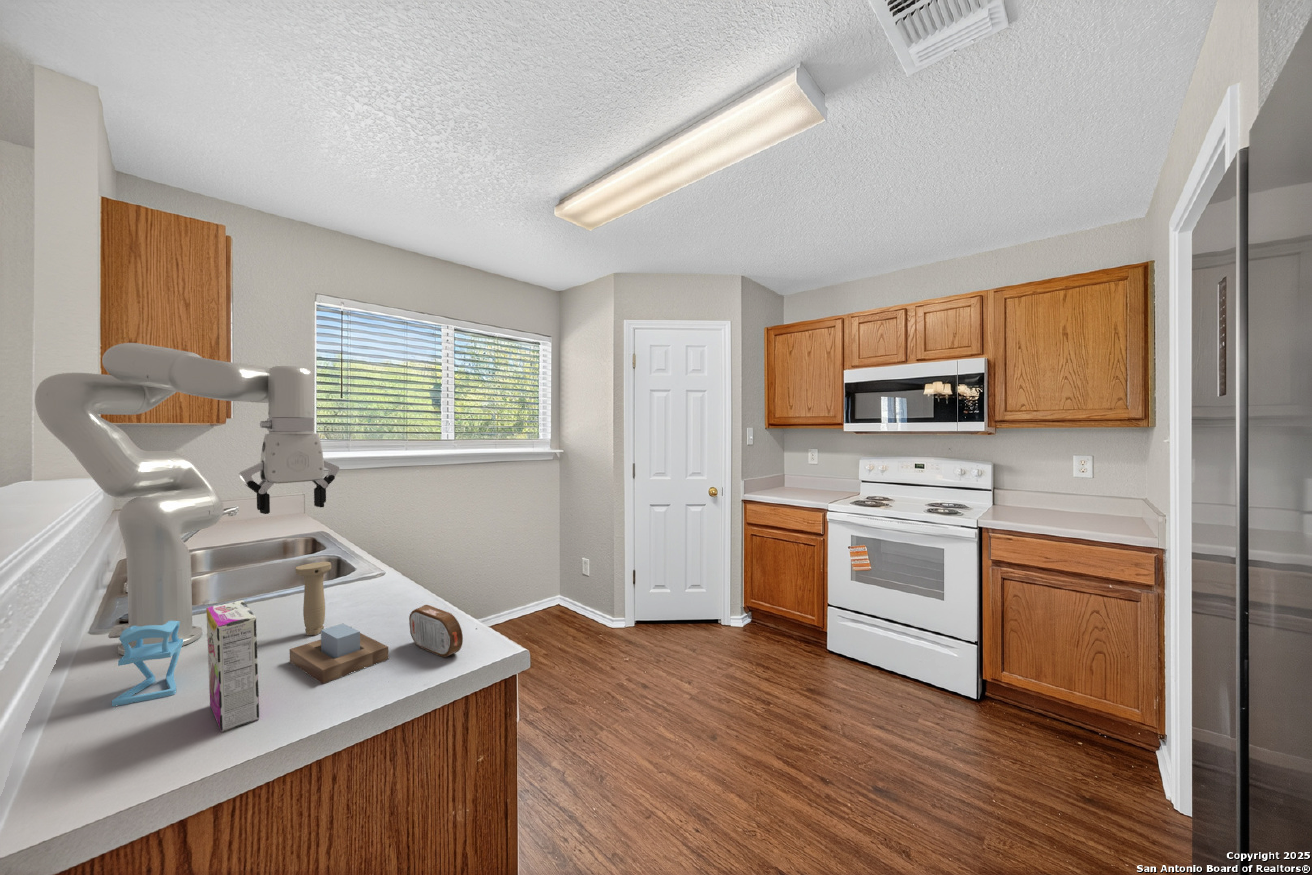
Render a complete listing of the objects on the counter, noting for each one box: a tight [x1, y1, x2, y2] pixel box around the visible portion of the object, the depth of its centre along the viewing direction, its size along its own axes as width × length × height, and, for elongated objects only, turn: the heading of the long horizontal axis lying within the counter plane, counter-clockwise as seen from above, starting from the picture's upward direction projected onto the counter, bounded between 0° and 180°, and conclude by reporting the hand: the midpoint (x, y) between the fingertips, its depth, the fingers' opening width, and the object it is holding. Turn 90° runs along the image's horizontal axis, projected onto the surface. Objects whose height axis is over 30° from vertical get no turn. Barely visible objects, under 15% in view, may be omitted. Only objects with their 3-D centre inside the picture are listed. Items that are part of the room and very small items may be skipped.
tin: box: [408, 604, 464, 658], centre depth 102 cm, size 15×3×8 cm, turn 57°
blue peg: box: [320, 623, 361, 659], centre depth 98 cm, size 4×7×6 cm, turn 55°
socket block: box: [289, 632, 389, 685], centre depth 98 cm, size 12×14×4 cm
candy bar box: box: [205, 599, 260, 733], centre depth 80 cm, size 11×5×16 cm, turn 48°
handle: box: [295, 561, 332, 637], centre depth 110 cm, size 5×6×15 cm
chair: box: [111, 621, 183, 707], centre depth 87 cm, size 8×8×12 cm
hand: (293, 509), depth 104 cm, fingers open, 9 cm apart
